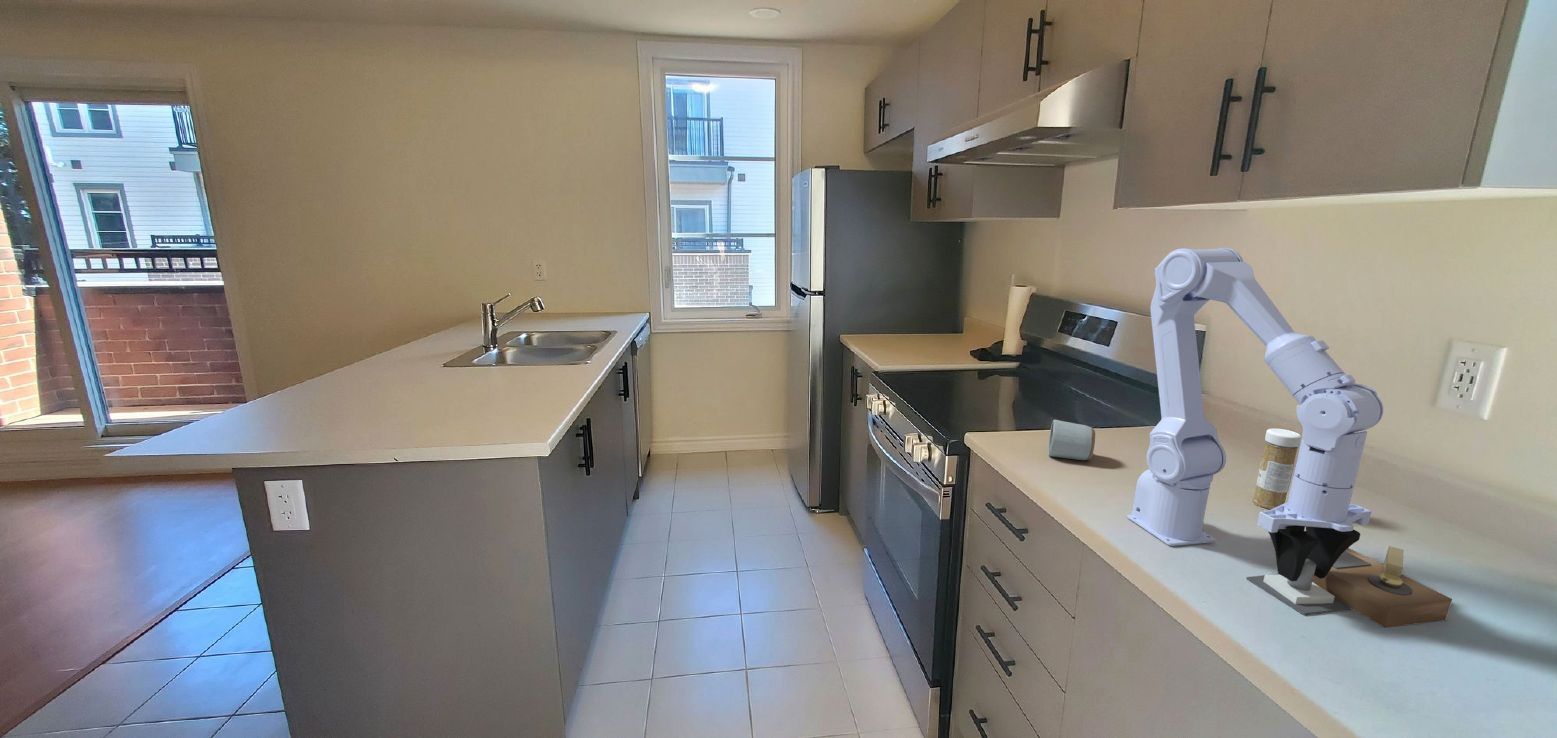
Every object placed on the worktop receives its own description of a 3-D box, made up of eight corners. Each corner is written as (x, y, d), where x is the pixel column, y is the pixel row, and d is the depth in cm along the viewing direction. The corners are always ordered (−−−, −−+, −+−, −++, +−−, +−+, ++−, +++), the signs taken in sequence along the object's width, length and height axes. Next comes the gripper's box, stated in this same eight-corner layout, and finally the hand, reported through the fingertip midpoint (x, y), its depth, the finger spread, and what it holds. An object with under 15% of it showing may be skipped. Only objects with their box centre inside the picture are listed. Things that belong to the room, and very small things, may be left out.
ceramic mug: (1093, 466, 122) (1098, 430, 120) (1048, 461, 124) (1052, 425, 123) (1087, 449, 131) (1091, 415, 130) (1046, 444, 134) (1049, 411, 132)
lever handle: (1401, 590, 75) (1406, 571, 75) (1378, 583, 77) (1383, 565, 76) (1401, 568, 80) (1406, 550, 80) (1380, 562, 82) (1385, 544, 81)
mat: (1246, 578, 83) (1246, 576, 83) (1289, 574, 84) (1290, 572, 84) (1303, 615, 76) (1304, 613, 76) (1350, 609, 77) (1351, 607, 77)
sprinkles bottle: (1253, 496, 108) (1268, 425, 105) (1286, 504, 105) (1302, 431, 102) (1250, 505, 105) (1265, 432, 102) (1284, 513, 102) (1300, 438, 99)
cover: (1263, 581, 82) (1269, 551, 81) (1298, 580, 83) (1305, 550, 81) (1295, 603, 77) (1302, 572, 76) (1332, 603, 78) (1340, 571, 77)
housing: (1281, 567, 86) (1285, 547, 85) (1334, 562, 88) (1339, 542, 87) (1385, 627, 74) (1391, 604, 73) (1445, 620, 75) (1452, 597, 74)
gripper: (1305, 497, 71) (1282, 598, 75) (1407, 489, 74) (1380, 588, 77) (1251, 473, 78) (1232, 567, 81) (1346, 466, 80) (1324, 558, 84)
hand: (1300, 575), depth 79 cm, fingers open, 4 cm apart
